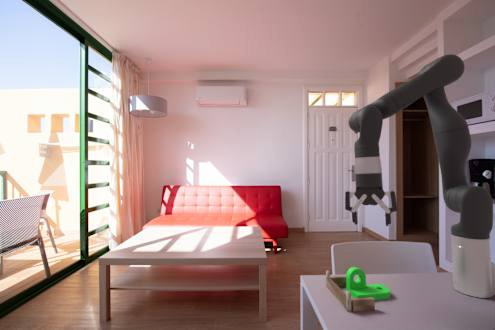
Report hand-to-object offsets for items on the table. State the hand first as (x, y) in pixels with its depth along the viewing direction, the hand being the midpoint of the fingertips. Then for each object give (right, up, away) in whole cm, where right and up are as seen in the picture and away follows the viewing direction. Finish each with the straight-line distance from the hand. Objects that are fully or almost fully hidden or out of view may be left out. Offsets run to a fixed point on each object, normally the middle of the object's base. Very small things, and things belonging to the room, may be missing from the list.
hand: (371, 224), depth 77 cm
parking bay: (-7, -22, -1) cm, 23 cm away
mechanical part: (0, -22, 0) cm, 22 cm away
